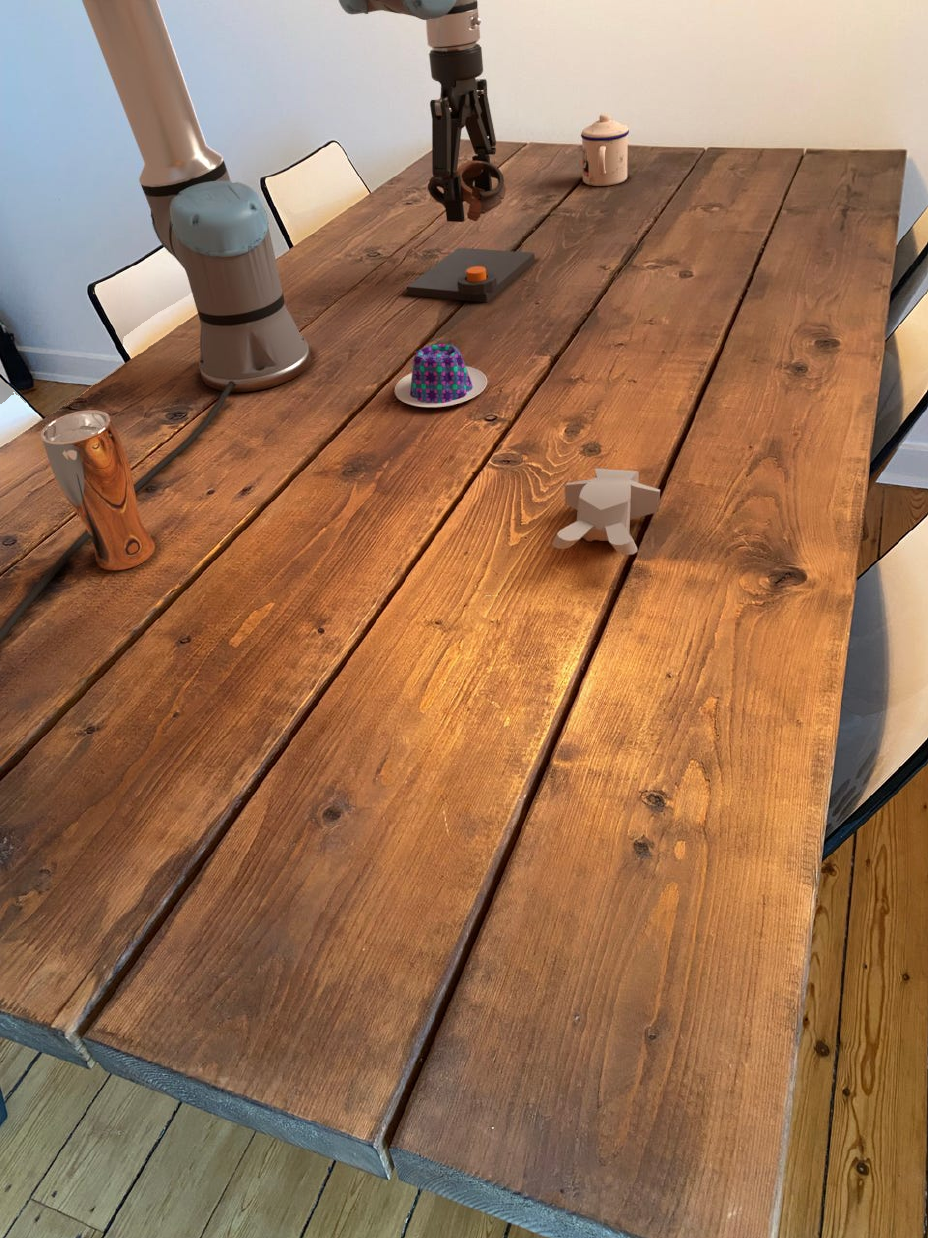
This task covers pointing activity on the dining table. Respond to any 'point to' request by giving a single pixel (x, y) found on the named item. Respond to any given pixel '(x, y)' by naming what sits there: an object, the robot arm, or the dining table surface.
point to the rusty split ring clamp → (473, 188)
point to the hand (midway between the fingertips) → (470, 210)
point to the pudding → (440, 378)
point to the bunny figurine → (607, 509)
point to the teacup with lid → (605, 152)
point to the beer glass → (98, 486)
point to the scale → (452, 279)
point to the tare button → (476, 274)
